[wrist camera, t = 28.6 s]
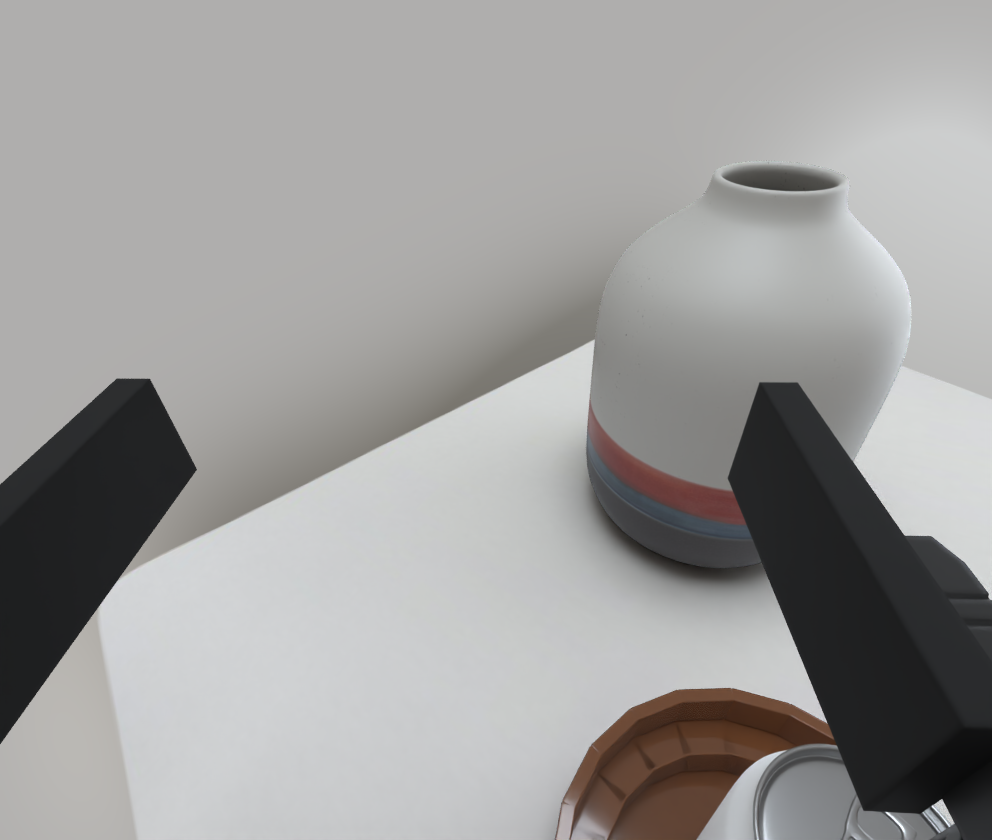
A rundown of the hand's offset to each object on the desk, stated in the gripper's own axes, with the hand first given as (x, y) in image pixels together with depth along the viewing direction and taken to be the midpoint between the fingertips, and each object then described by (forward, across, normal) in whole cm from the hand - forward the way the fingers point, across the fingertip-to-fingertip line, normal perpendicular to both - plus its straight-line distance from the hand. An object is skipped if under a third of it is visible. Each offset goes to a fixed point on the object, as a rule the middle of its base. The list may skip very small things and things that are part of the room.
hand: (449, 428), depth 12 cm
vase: (+20, +14, -24) cm, 34 cm away
